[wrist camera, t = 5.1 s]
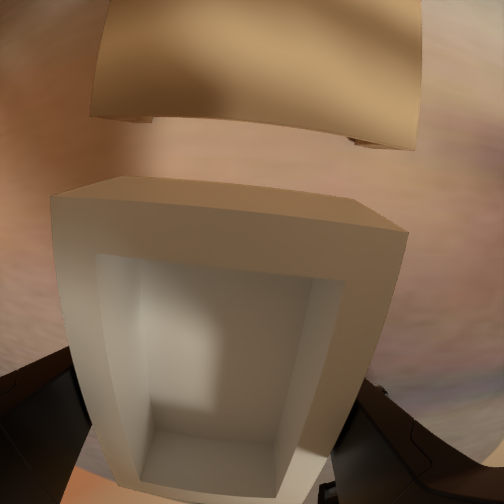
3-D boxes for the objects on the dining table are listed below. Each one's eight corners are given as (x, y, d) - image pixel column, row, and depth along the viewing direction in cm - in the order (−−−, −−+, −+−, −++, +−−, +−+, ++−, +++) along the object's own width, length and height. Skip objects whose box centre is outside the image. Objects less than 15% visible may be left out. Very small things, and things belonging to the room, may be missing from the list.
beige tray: (292, 440, 12) (298, 508, 8) (140, 422, 11) (118, 485, 8) (353, 198, 8) (409, 233, 5) (121, 175, 8) (50, 196, 5)
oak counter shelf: (372, 148, 17) (414, 150, 12) (133, 122, 17) (89, 116, 12) (382, -15, 13) (415, -52, 8) (164, -38, 13) (139, -81, 8)
